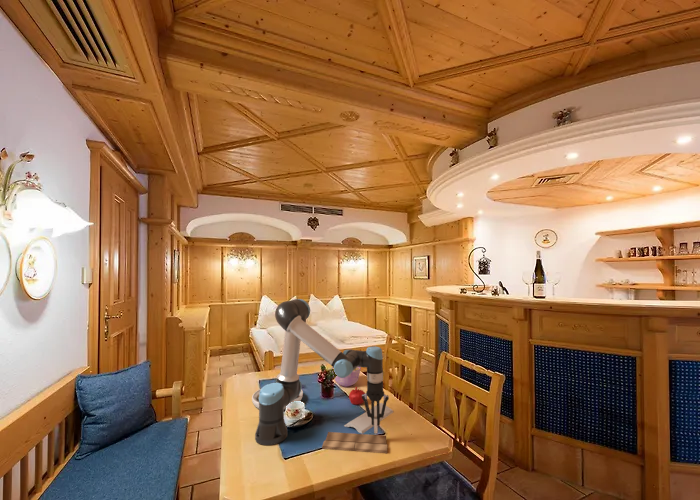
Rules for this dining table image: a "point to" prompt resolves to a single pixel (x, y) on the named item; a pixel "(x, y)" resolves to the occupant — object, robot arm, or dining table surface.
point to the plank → (356, 438)
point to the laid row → (355, 446)
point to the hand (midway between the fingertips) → (375, 431)
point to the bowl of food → (349, 378)
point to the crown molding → (367, 419)
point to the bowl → (256, 398)
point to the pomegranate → (356, 396)
